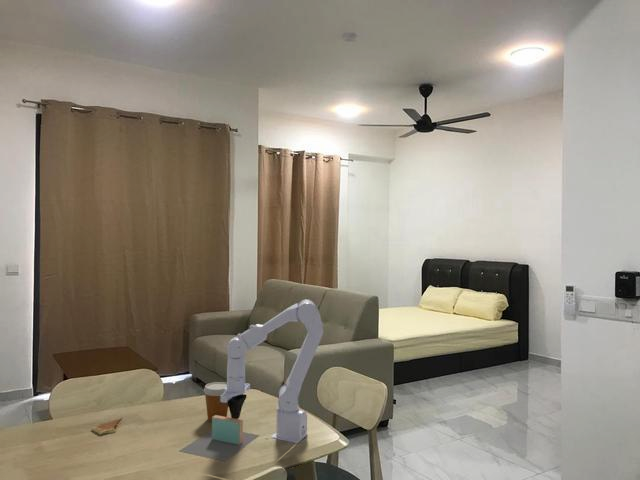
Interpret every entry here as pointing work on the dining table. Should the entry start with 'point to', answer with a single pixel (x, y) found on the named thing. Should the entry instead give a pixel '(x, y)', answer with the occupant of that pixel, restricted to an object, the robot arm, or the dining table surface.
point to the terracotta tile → (227, 429)
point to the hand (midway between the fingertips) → (235, 418)
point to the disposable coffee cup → (215, 400)
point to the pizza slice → (107, 427)
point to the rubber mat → (216, 447)
